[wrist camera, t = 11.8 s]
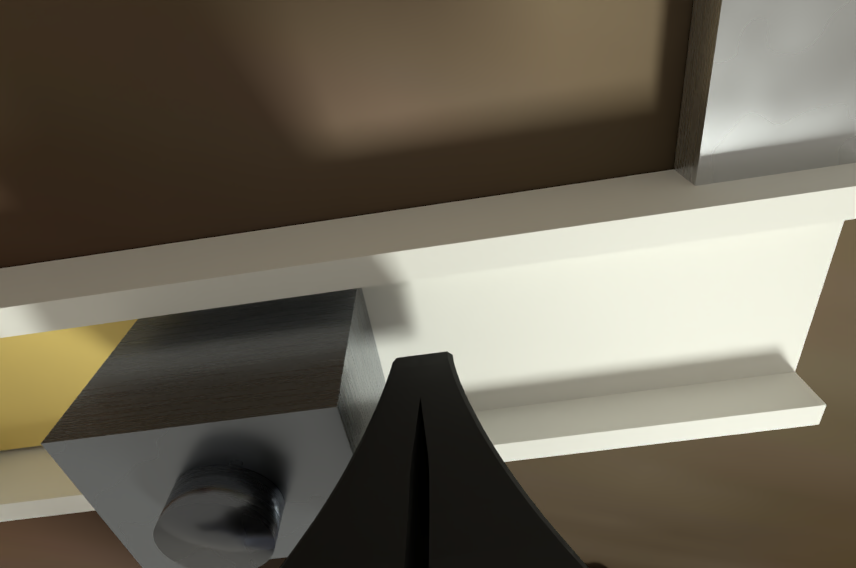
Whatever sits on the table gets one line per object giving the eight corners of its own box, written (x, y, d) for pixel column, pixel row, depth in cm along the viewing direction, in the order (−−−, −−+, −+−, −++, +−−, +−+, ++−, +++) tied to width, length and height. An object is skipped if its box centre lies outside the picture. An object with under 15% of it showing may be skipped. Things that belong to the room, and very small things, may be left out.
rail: (770, 371, 14) (819, 424, 13) (-17, 469, 16) (-68, 529, 14) (836, 144, 11) (914, 177, 9) (-183, 295, 12) (-279, 348, 11)
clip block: (390, 402, 14) (381, 588, 10) (211, 424, 14) (128, 614, 10) (359, 277, 11) (329, 447, 7) (147, 305, 12) (7, 485, 8)
